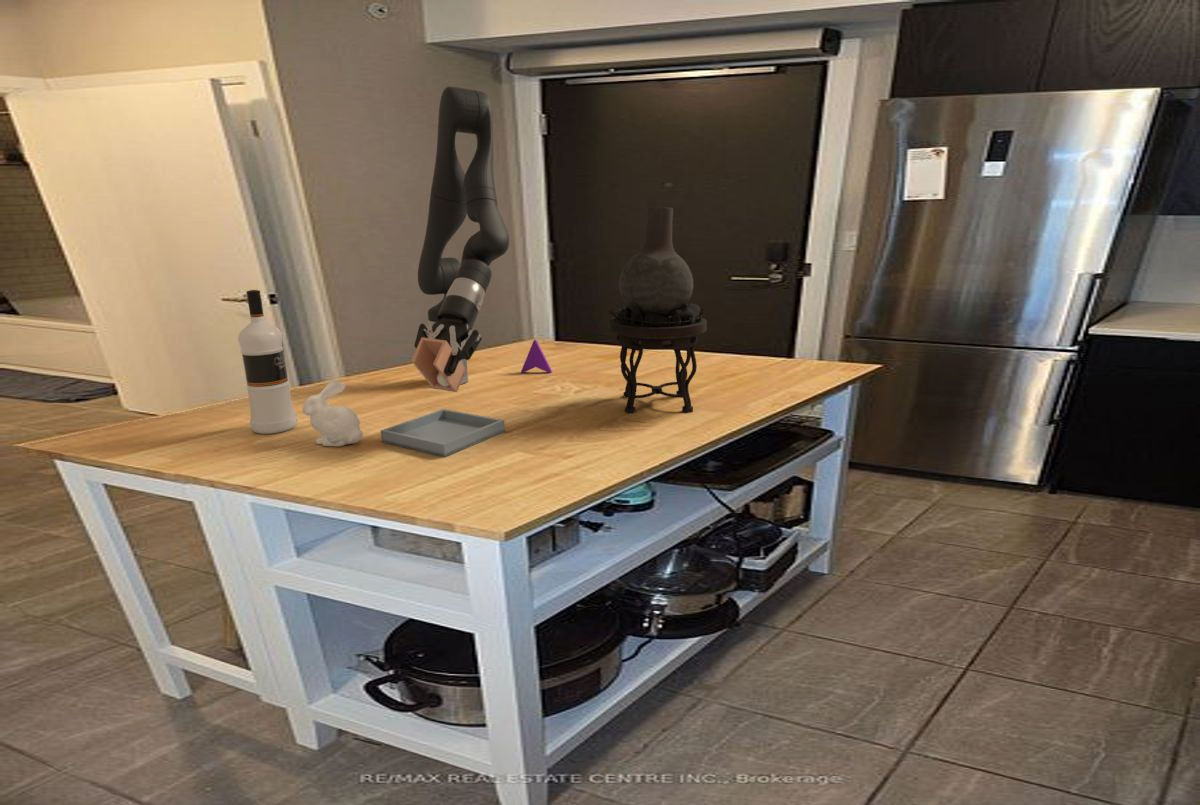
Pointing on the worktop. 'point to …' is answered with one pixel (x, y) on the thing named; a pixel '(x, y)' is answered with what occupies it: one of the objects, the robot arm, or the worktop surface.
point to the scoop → (437, 363)
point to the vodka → (265, 372)
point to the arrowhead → (536, 359)
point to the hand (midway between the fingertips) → (433, 371)
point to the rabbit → (332, 418)
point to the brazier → (657, 308)
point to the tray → (443, 432)
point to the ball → (441, 380)
